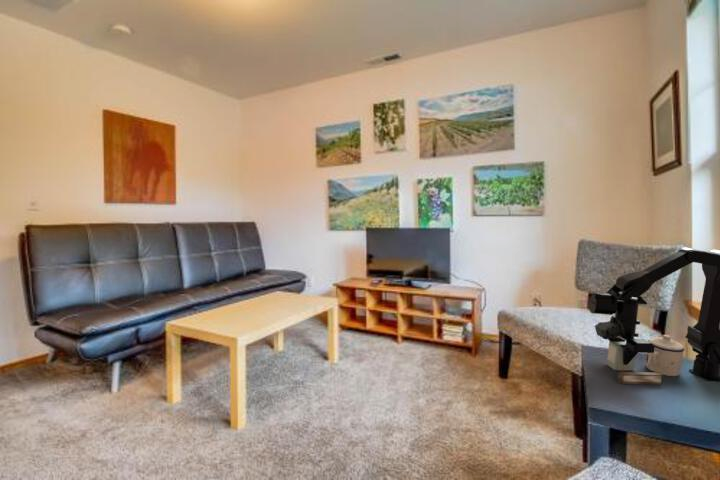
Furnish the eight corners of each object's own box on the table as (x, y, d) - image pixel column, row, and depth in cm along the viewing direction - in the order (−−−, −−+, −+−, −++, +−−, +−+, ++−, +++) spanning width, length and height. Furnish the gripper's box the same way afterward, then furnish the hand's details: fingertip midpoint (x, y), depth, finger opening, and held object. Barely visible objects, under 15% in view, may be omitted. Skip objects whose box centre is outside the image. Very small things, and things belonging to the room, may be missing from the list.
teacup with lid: (653, 361, 125) (657, 328, 123) (686, 373, 117) (691, 338, 115) (633, 368, 119) (638, 334, 118) (667, 381, 111) (672, 345, 110)
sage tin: (606, 364, 122) (608, 341, 121) (625, 364, 122) (627, 341, 121) (614, 370, 118) (617, 346, 117) (633, 370, 118) (636, 346, 117)
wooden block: (657, 381, 111) (658, 372, 111) (661, 384, 109) (662, 375, 109) (617, 381, 111) (618, 371, 111) (621, 384, 109) (622, 374, 109)
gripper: (583, 306, 127) (579, 348, 129) (621, 325, 108) (615, 375, 110) (615, 306, 127) (610, 349, 129) (659, 326, 108) (652, 376, 110)
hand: (620, 361), depth 120 cm, fingers closed on sage tin, 4 cm apart
